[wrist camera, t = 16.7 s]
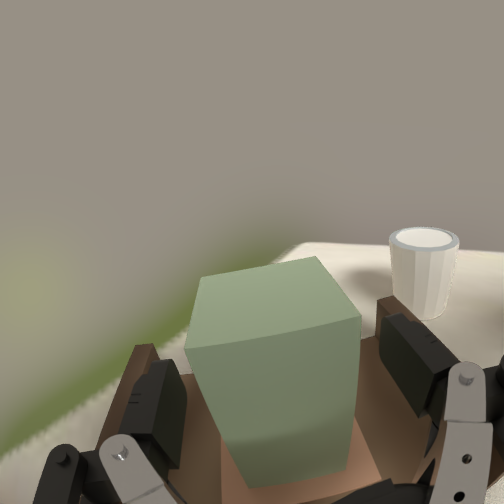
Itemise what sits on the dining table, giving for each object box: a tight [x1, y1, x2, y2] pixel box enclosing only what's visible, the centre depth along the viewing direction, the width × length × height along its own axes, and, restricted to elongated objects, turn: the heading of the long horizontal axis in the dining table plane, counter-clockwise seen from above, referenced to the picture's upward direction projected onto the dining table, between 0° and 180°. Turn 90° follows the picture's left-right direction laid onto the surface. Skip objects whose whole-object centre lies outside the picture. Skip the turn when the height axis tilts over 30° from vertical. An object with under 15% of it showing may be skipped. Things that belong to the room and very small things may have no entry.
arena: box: [79, 295, 504, 504], centre depth 13 cm, size 20×16×4 cm
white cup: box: [389, 227, 459, 320], centre depth 23 cm, size 7×7×7 cm
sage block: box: [184, 256, 361, 488], centre depth 11 cm, size 5×5×10 cm
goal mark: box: [221, 416, 382, 504], centre depth 13 cm, size 8×8×1 cm
